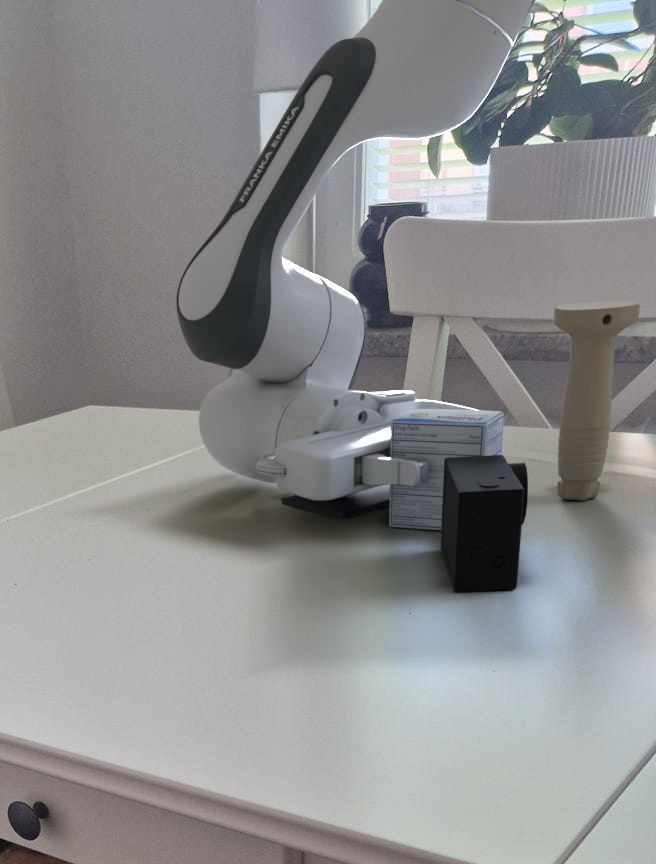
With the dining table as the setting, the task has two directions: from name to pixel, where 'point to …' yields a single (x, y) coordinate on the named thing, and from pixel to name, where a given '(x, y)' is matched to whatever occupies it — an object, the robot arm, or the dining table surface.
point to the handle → (588, 391)
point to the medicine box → (437, 457)
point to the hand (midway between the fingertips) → (456, 464)
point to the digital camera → (483, 521)
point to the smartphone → (344, 502)
